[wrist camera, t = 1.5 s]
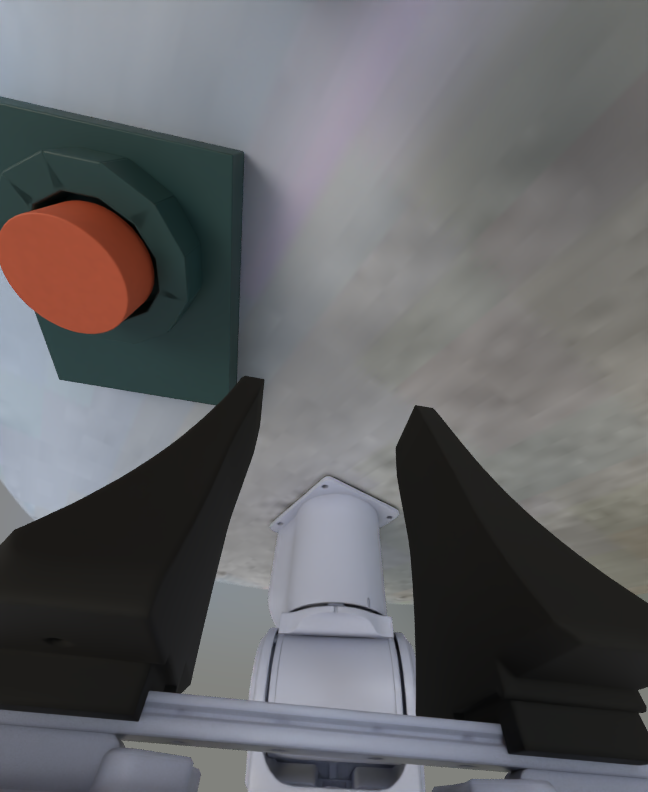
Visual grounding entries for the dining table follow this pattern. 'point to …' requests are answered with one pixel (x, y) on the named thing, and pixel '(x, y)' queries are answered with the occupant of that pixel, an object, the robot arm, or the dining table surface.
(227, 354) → the green button base
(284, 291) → the dining table surface
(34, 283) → the push button
